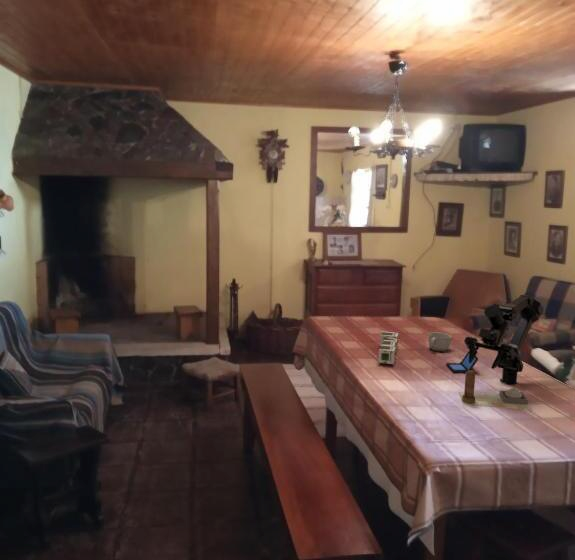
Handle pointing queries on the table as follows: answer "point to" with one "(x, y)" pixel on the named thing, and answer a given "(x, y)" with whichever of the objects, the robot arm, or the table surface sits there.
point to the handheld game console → (462, 365)
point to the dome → (513, 393)
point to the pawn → (469, 387)
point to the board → (498, 401)
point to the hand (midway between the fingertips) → (480, 365)
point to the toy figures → (388, 347)
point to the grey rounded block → (439, 341)
